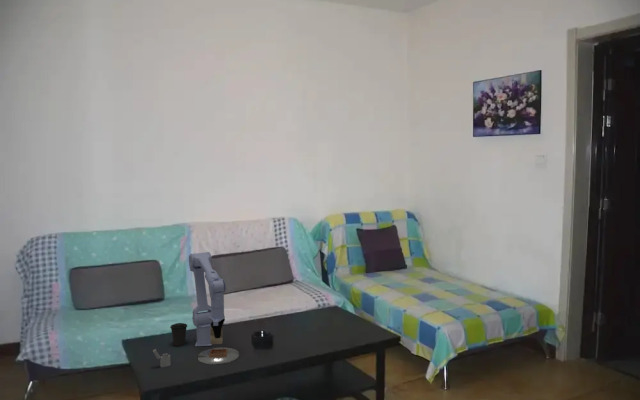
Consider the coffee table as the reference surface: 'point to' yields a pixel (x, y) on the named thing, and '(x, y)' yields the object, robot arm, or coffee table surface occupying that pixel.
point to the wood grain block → (216, 340)
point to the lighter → (163, 359)
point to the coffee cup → (179, 333)
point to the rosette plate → (218, 356)
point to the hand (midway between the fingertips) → (218, 336)
